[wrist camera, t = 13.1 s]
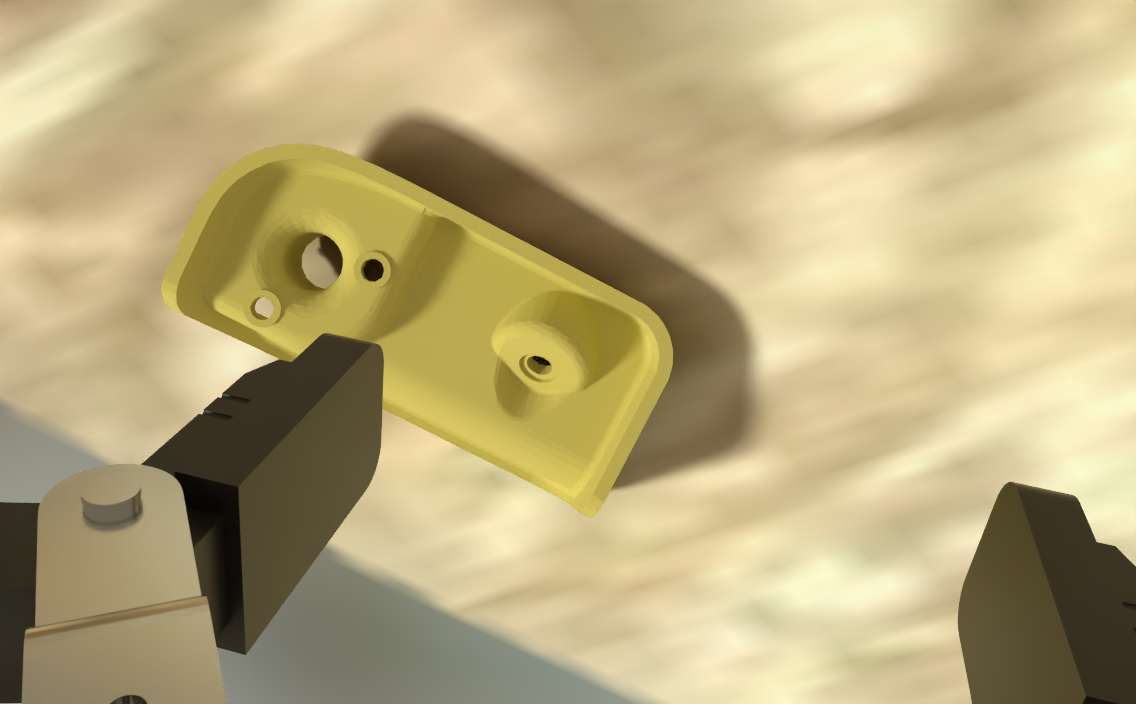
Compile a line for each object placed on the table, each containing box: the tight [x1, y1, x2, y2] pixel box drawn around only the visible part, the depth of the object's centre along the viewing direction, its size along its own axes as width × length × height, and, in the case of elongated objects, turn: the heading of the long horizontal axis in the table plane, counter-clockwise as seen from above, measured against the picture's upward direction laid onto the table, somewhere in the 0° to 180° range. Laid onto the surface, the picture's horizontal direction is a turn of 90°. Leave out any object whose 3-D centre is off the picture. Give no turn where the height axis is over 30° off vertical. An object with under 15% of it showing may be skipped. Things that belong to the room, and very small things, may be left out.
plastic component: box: [161, 144, 673, 518], centre depth 43 cm, size 20×7×10 cm
